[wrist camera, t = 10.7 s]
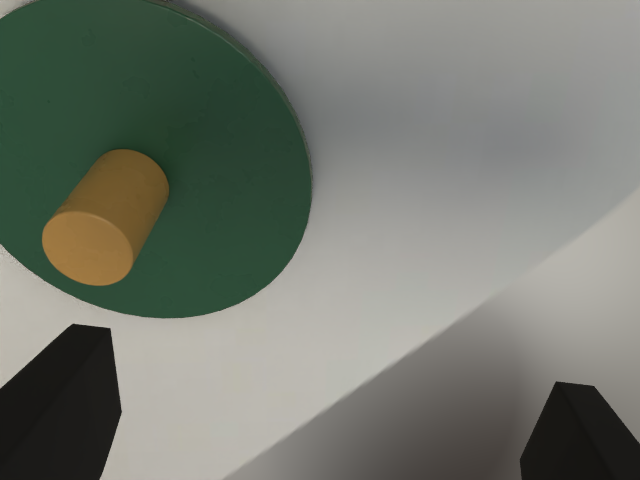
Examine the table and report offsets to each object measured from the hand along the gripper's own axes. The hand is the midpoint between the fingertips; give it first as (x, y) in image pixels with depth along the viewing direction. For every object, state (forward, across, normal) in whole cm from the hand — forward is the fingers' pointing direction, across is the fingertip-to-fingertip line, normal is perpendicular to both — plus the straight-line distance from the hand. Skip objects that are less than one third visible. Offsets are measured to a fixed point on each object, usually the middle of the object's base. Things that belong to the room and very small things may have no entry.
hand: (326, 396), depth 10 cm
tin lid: (+10, +6, +2) cm, 12 cm away
